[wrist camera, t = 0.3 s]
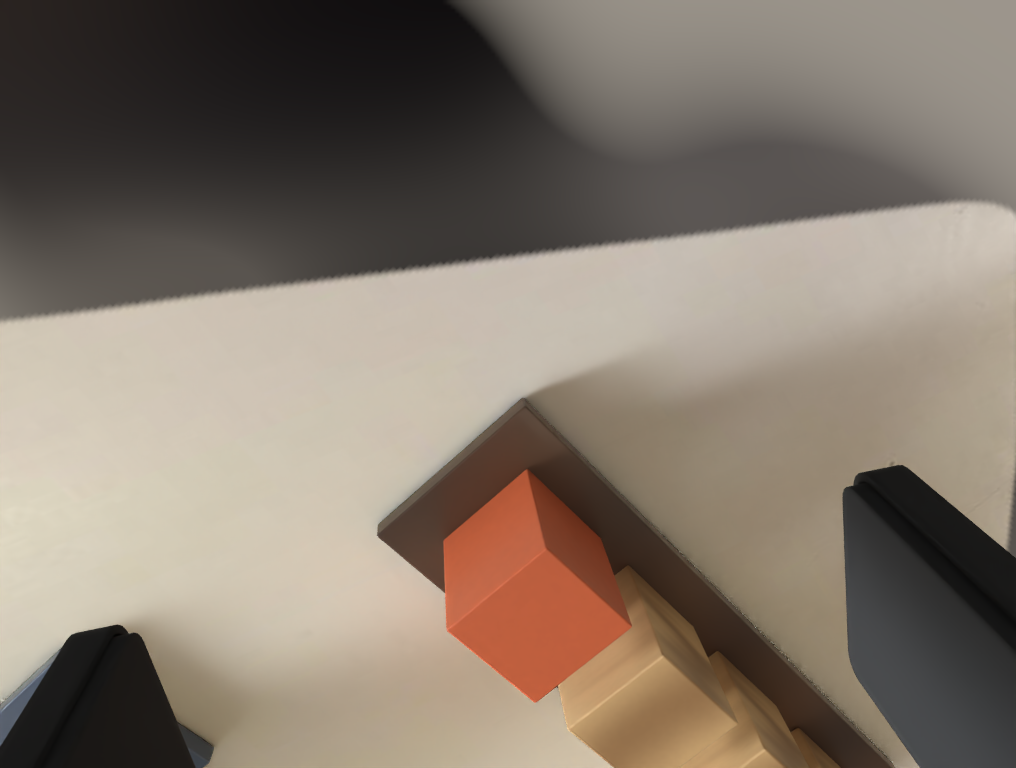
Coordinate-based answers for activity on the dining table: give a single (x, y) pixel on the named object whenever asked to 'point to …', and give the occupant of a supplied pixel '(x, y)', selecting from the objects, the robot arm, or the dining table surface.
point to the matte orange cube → (531, 588)
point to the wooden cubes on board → (642, 625)
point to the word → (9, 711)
